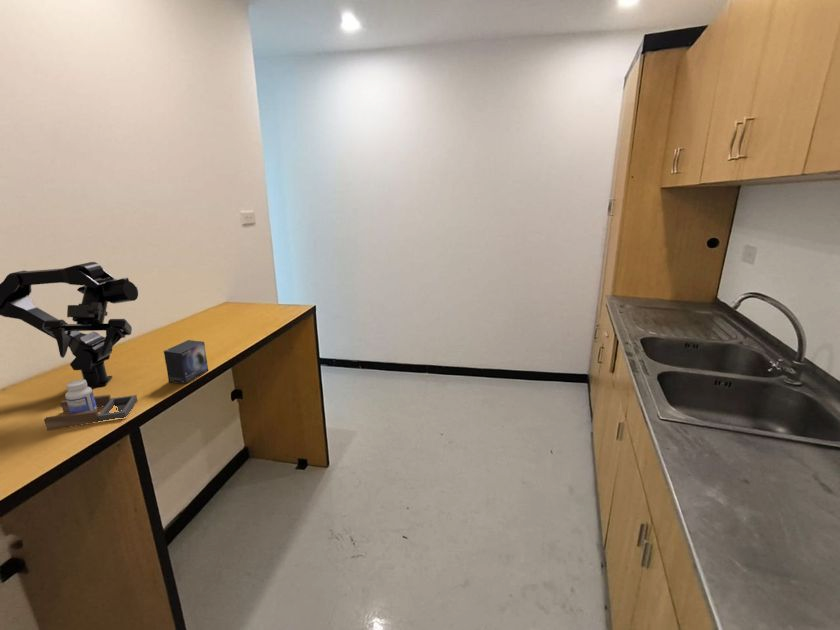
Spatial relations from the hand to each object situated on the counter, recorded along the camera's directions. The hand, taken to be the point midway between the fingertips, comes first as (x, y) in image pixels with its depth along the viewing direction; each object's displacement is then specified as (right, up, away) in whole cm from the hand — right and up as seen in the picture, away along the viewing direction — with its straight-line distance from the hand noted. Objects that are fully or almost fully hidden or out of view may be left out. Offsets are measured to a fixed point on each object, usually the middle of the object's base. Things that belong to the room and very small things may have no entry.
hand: (82, 356), depth 108 cm
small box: (+17, -9, +20) cm, 28 cm away
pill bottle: (+3, -16, -3) cm, 16 cm away
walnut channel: (+2, -15, -3) cm, 16 cm away
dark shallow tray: (+10, -15, -1) cm, 18 cm away
